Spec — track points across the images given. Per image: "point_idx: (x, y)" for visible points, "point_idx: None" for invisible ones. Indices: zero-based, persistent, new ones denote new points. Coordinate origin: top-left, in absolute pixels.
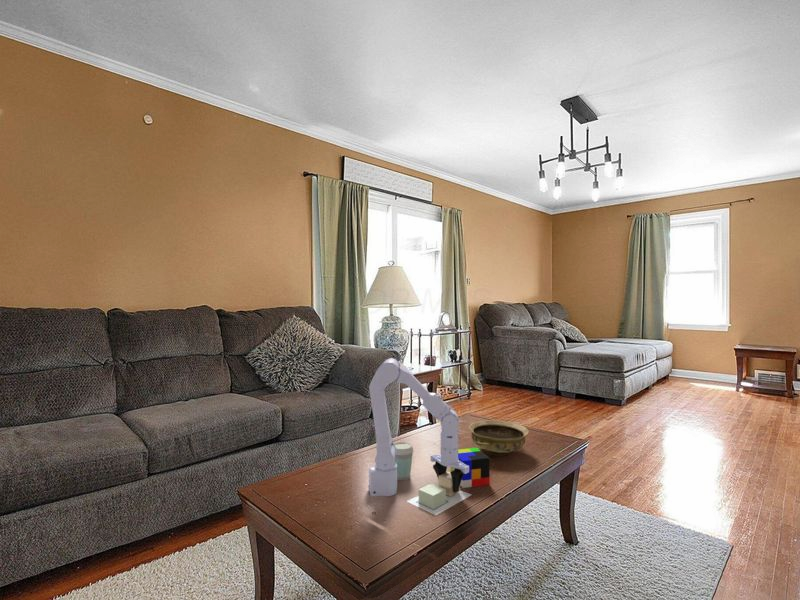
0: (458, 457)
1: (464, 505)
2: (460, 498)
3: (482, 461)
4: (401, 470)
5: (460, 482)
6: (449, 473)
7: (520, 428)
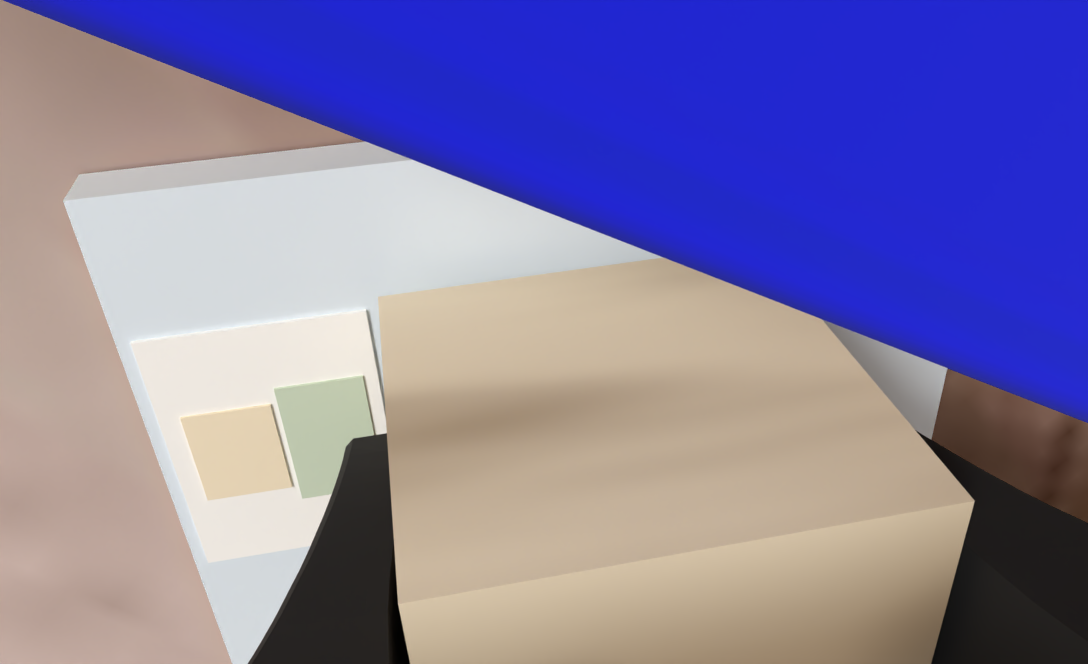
0: (394, 142)
1: (984, 395)
2: (884, 382)
3: None
4: None
5: (969, 474)
6: (577, 652)
7: None
